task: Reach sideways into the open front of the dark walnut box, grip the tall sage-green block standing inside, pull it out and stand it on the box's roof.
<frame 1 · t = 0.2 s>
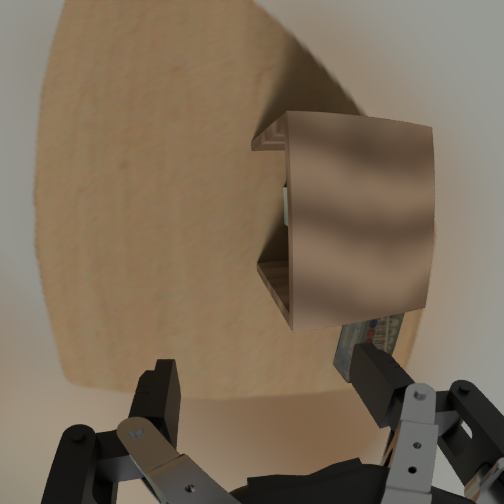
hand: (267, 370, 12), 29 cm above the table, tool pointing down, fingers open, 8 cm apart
walnut box: (301, 205, 40), on the table
beverage carton: (363, 313, 46), on the table
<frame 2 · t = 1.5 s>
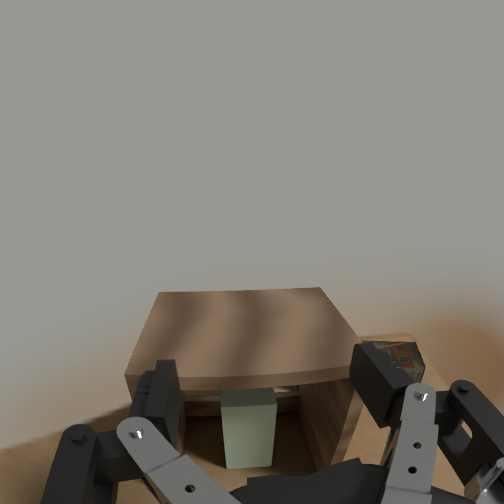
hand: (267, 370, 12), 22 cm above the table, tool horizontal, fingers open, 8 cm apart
walnut box: (247, 451, 30), on the table
beverage carton: (355, 384, 42), on the table
sage block: (247, 451, 30), on the table
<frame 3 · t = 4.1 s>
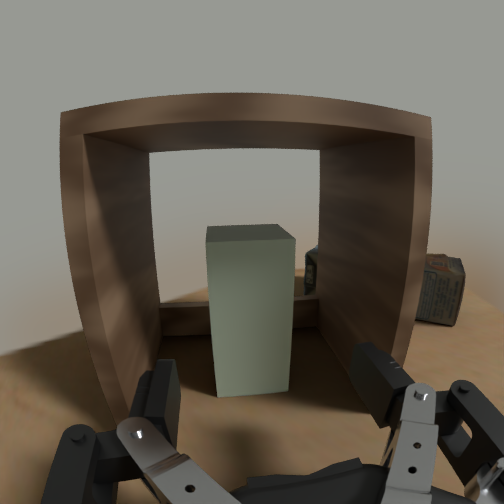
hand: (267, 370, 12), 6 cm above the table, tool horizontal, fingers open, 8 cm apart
walnut box: (248, 373, 22), on the table
beverage carton: (382, 304, 34), on the table
sage block: (248, 374, 22), on the table
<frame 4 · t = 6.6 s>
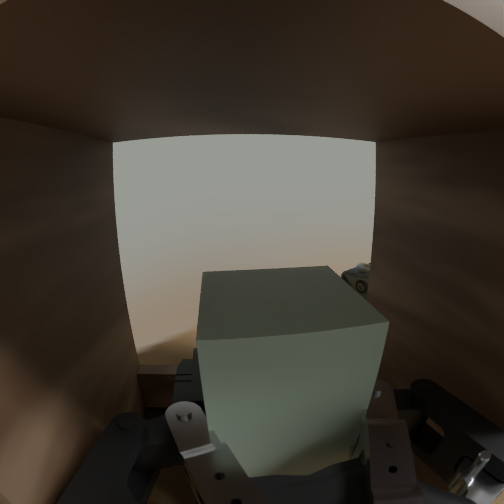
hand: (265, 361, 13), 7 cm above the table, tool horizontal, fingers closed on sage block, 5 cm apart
walnut box: (270, 480, 12), on the table
beverage carton: (428, 346, 24), on the table
sage block: (271, 479, 12), on the table, touching gripper
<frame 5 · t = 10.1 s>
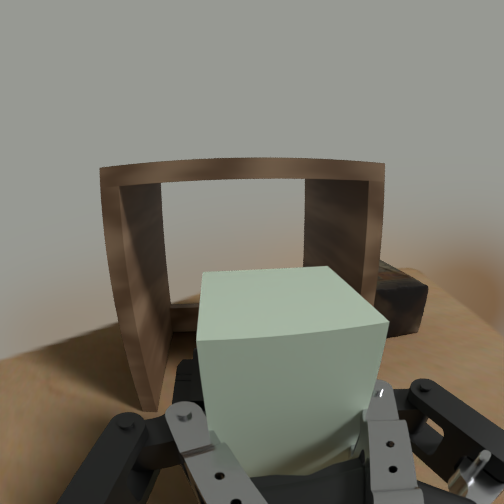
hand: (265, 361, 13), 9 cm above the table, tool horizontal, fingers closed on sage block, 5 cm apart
walnut box: (244, 362, 27), on the table
beverage carton: (359, 307, 39), on the table
sage block: (271, 480, 12), point 2 cm above the table, touching gripper
when the fingers open (26 cm above the table, at t = 13.8 s): sage block drops 1 cm, resting on walnut box.
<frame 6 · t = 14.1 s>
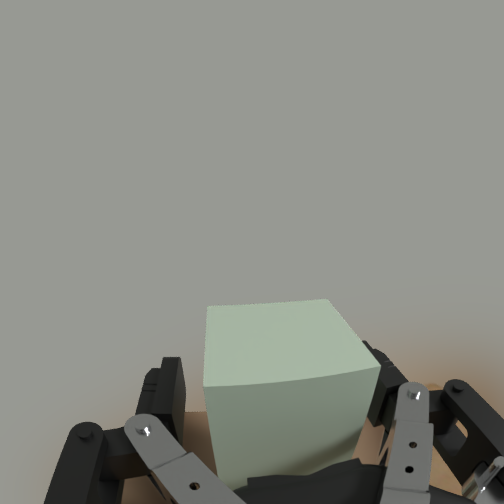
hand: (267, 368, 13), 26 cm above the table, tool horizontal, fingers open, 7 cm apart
sage block: (271, 491, 13), point 18 cm above the table, touching walnut box
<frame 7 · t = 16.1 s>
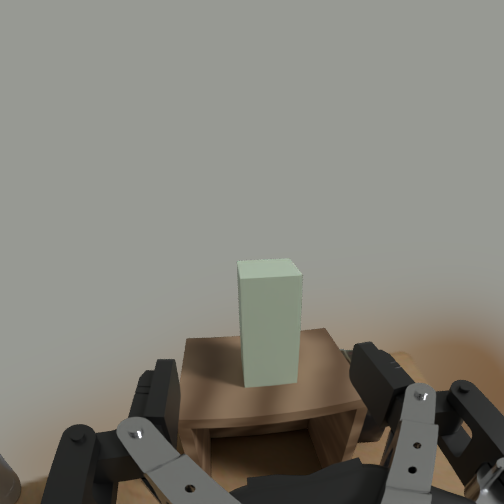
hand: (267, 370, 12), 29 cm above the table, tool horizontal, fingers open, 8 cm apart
walnut box: (265, 466, 33), on the table
beverage carton: (349, 405, 45), on the table
sage block: (267, 370, 29), point 18 cm above the table, touching walnut box
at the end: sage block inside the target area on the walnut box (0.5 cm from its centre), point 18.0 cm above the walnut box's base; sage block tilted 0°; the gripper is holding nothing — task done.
